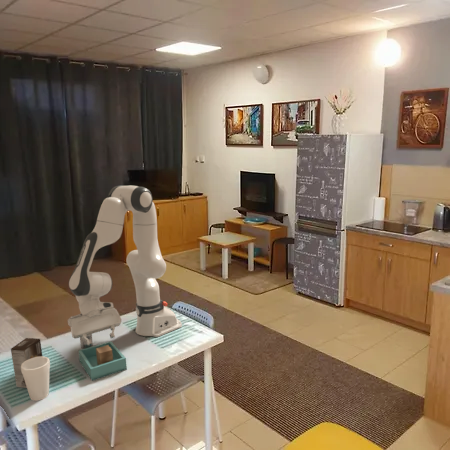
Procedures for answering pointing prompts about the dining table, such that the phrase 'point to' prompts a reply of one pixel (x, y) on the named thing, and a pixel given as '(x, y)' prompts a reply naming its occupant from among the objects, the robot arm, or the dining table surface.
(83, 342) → the grey cylinder
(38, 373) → the foam cup
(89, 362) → the tote
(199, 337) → the dining table surface
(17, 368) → the coffee box
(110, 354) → the walnut block
